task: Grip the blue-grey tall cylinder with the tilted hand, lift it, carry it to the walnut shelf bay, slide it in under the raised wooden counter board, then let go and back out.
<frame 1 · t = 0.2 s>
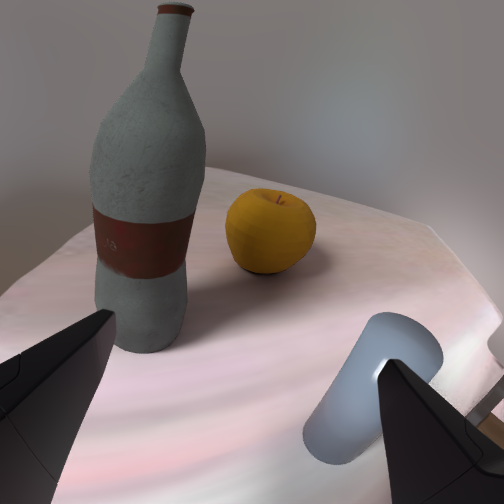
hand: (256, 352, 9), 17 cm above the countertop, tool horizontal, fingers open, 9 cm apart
bottle: (141, 327, 31), on the countertop
shelf bay: (476, 500, 16), on the countertop
apple: (259, 266, 47), on the countertop
blue-grey tall cylinder: (334, 436, 23), on the countertop
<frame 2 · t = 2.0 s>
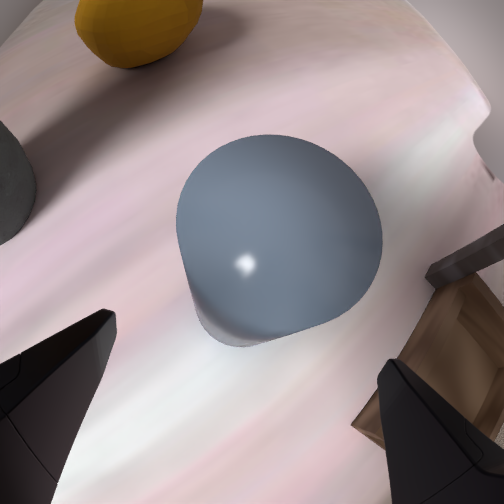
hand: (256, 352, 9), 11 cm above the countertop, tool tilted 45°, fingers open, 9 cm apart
bottle: (2, 205, 20), on the countertop
shelf bay: (446, 388, 20), on the countertop
apple: (142, 56, 28), on the countertop
blue-grey tall cylinder: (241, 301, 20), on the countertop
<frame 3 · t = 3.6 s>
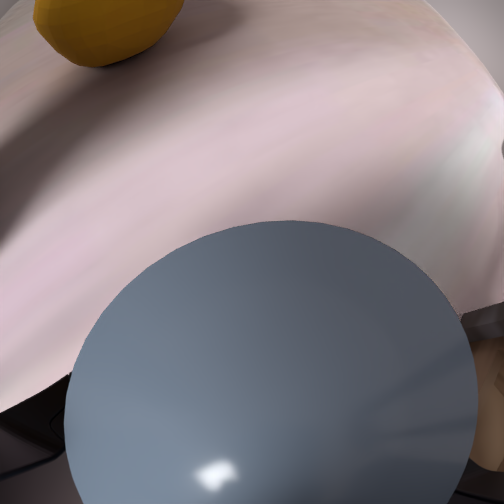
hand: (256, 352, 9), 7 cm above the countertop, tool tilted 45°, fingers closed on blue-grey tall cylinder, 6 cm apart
shelf bay: (467, 451, 14), on the countertop
apple: (118, 52, 22), on the countertop
blue-grey tall cylinder: (232, 380, 15), on the countertop, touching gripper
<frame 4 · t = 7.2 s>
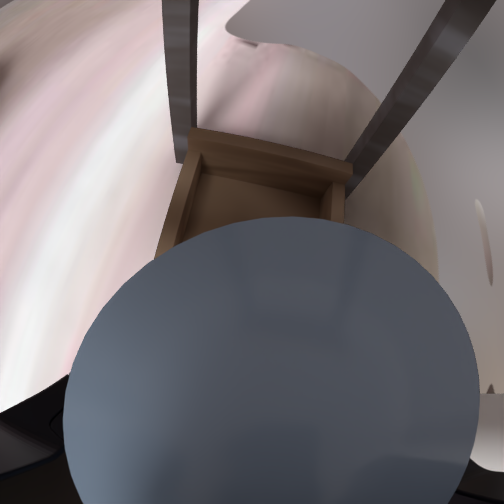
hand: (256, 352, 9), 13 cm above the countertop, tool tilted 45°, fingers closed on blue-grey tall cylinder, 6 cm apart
shelf bay: (250, 244, 24), on the countertop
blue-grey tall cylinder: (233, 379, 15), point 6 cm above the countertop, touching gripper
cylindrical container: (463, 427, 21), on the countertop
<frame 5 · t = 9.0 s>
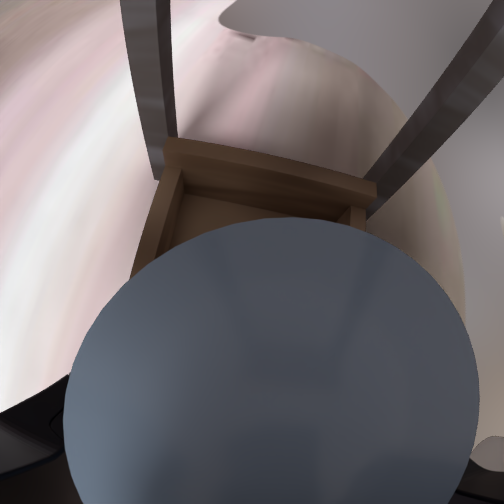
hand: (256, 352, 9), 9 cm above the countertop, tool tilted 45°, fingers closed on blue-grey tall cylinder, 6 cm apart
shelf bay: (246, 285, 19), on the countertop
blue-grey tall cylinder: (233, 379, 15), point 2 cm above the countertop, touching gripper
cylindrical container: (480, 471, 16), on the countertop
when the fingers open (9 cm above the countertop, at t = 10.7 s): blue-grey tall cylinder drops 1 cm, resting on shelf bay.
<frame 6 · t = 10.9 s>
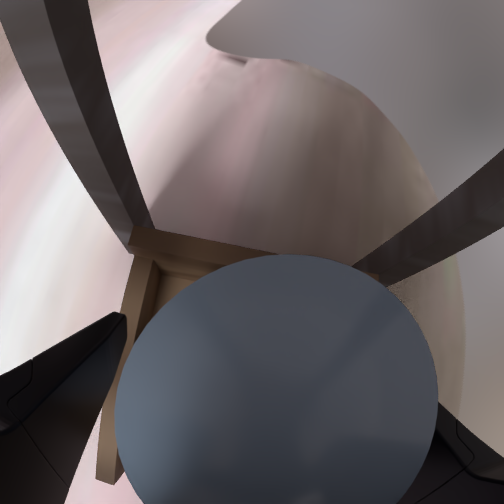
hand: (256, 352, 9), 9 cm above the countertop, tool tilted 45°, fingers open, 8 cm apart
shelf bay: (230, 376, 17), on the countertop
blue-grey tall cylinder: (231, 379, 16), point 1 cm above the countertop, touching shelf bay
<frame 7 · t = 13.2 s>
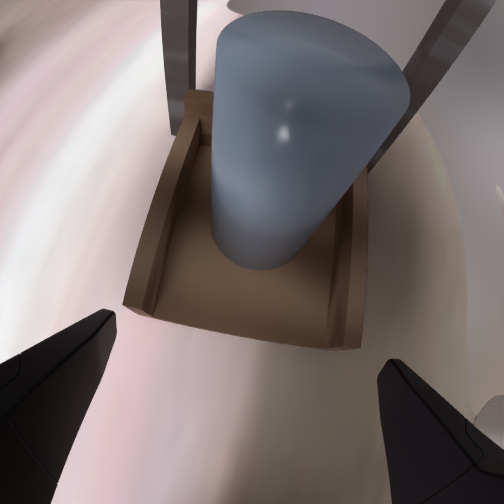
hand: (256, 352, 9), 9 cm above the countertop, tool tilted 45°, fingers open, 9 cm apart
shelf bay: (257, 226, 20), on the countertop
blue-grey tall cylinder: (259, 223, 19), point 1 cm above the countertop, touching shelf bay
cylindrical container: (490, 433, 17), on the countertop
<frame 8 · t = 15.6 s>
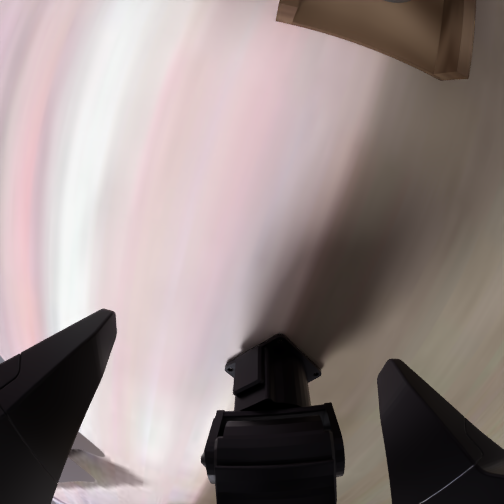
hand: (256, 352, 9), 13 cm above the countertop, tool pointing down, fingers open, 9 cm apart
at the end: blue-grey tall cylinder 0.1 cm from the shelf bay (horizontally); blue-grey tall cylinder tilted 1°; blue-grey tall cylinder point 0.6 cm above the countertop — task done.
